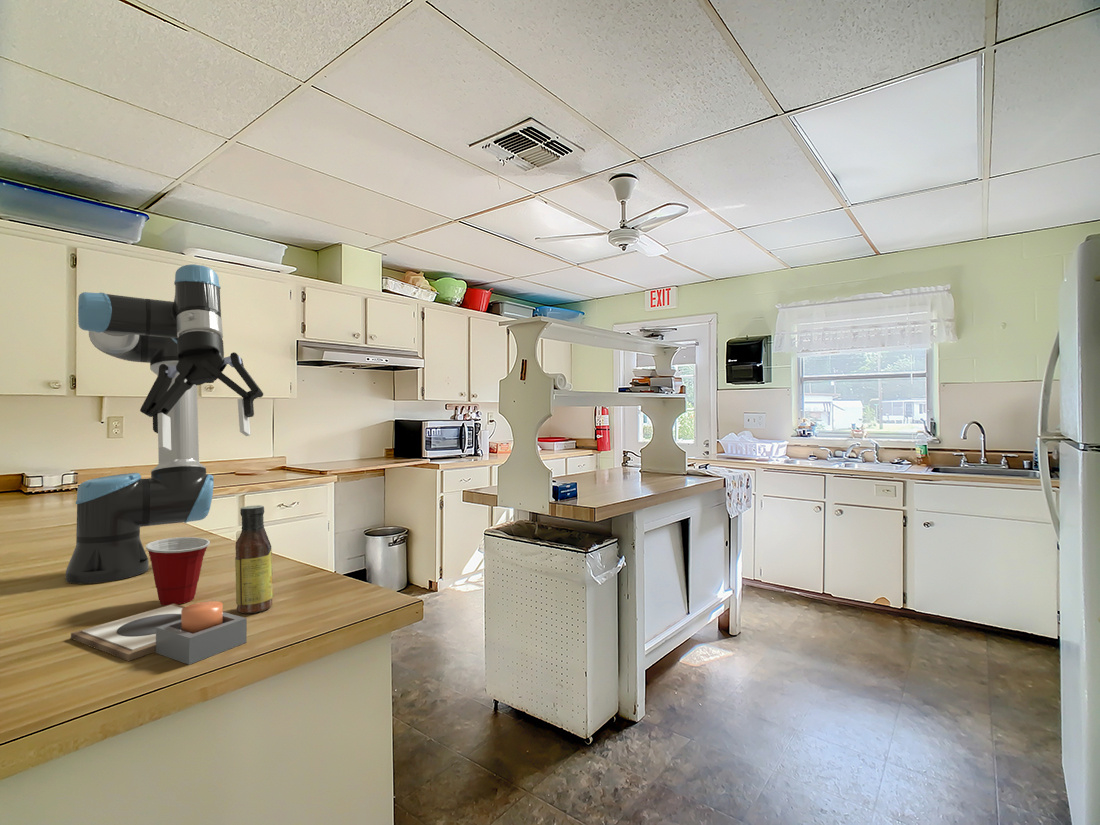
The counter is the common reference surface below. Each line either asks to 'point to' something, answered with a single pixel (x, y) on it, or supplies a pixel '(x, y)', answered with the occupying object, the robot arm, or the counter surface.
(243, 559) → the sauce bottle
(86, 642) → the board
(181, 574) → the plastic cup
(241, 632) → the button housing
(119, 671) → the counter surface
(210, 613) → the button
